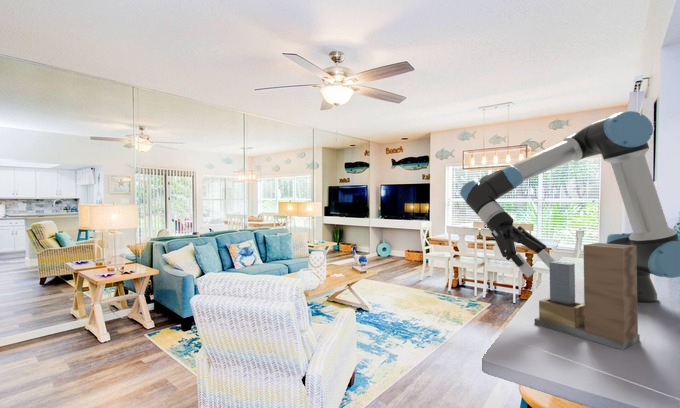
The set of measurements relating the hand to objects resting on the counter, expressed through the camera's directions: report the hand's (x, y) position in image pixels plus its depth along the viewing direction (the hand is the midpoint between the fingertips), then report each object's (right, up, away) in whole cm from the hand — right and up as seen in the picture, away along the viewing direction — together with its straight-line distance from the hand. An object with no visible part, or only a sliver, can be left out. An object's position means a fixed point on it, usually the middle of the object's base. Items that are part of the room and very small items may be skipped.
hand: (544, 271), depth 95 cm
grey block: (+3, -13, -4) cm, 14 cm away
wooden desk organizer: (+5, -14, -8) cm, 17 cm away
